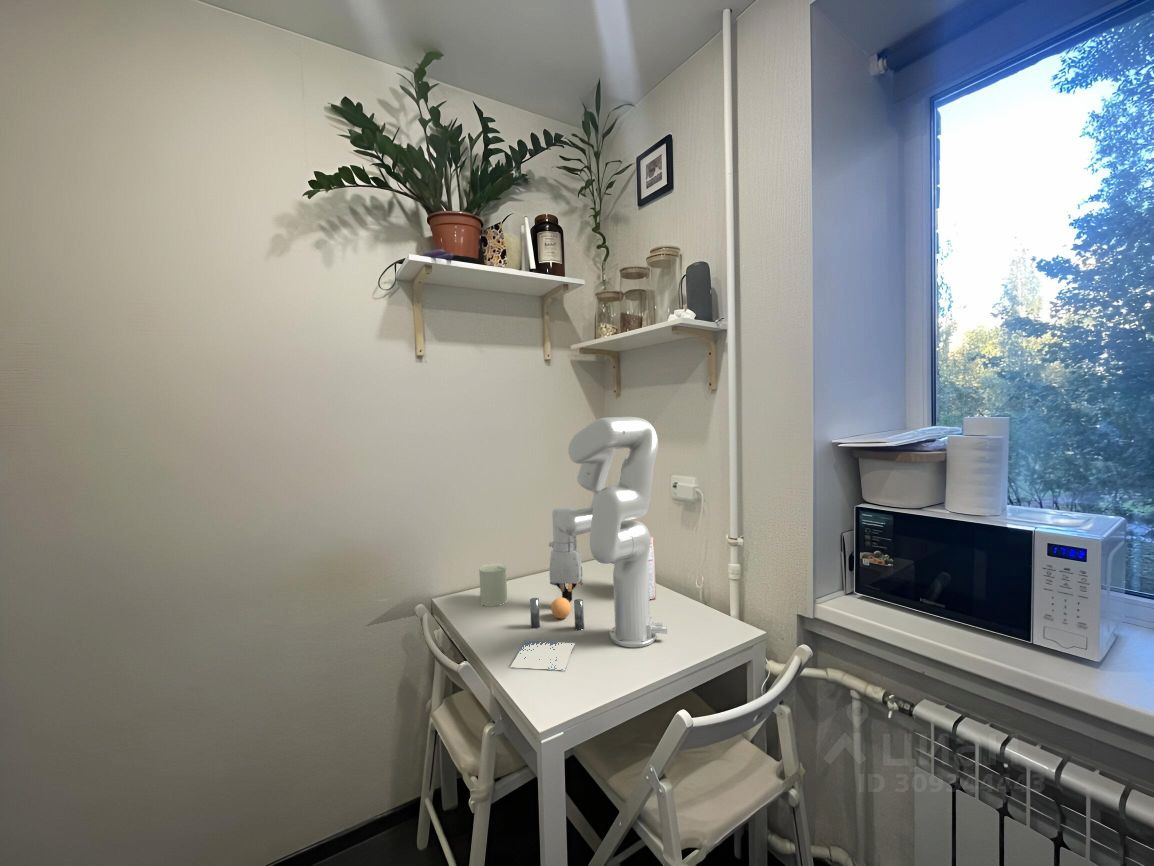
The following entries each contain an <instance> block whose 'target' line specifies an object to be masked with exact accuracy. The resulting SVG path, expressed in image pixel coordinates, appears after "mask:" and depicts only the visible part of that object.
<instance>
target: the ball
mask: <svg viewBox="0 0 1154 866" xmlns="http://www.w3.org/2000/svg"><path fill="white" fill-rule="evenodd" d="M551 603H552V604H551V609H550V610H551V614H552V615H553V616H554V617H555V618H557V619H565V618H567V617H568V616H569V615H570V613H571V611H572V610H571V609H572V606H571V601H570V602H569V601H568V600H567V599H565V598H562V597H556V598H555V599H554V600H553V601H552V602H551Z"/></svg>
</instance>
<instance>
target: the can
mask: <svg viewBox="0 0 1154 866" xmlns="http://www.w3.org/2000/svg"><path fill="white" fill-rule="evenodd" d="M478 572H479V590H480V591H479V592H480V593H479V594H480V601H479V604H480V603H481V604H482V605H481V606H483V605H485V606H484V607H488V606H492V607H496V606H495V605H499V606H501V605H500V604H502V605H504V604H506V603H507V602H508V601H507V600H509V598H508V584H507V582H508V581H507V565H506V564H503V563H489V564H484V565H482V566H480V567H479V569H478ZM506 601H507V602H506ZM505 602H506V603H505ZM503 603H504V604H503Z"/></svg>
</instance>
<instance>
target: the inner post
mask: <svg viewBox="0 0 1154 866" xmlns="http://www.w3.org/2000/svg"><path fill="white" fill-rule="evenodd" d="M573 608H574V609H573V610H574V611H573V612H574V630H576V629H577V630H576V631H582V630H581V629H583V630H584V629H585V620H584V617H585V616H584V600H583V599H582V598H576V599H574V600H573Z"/></svg>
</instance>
